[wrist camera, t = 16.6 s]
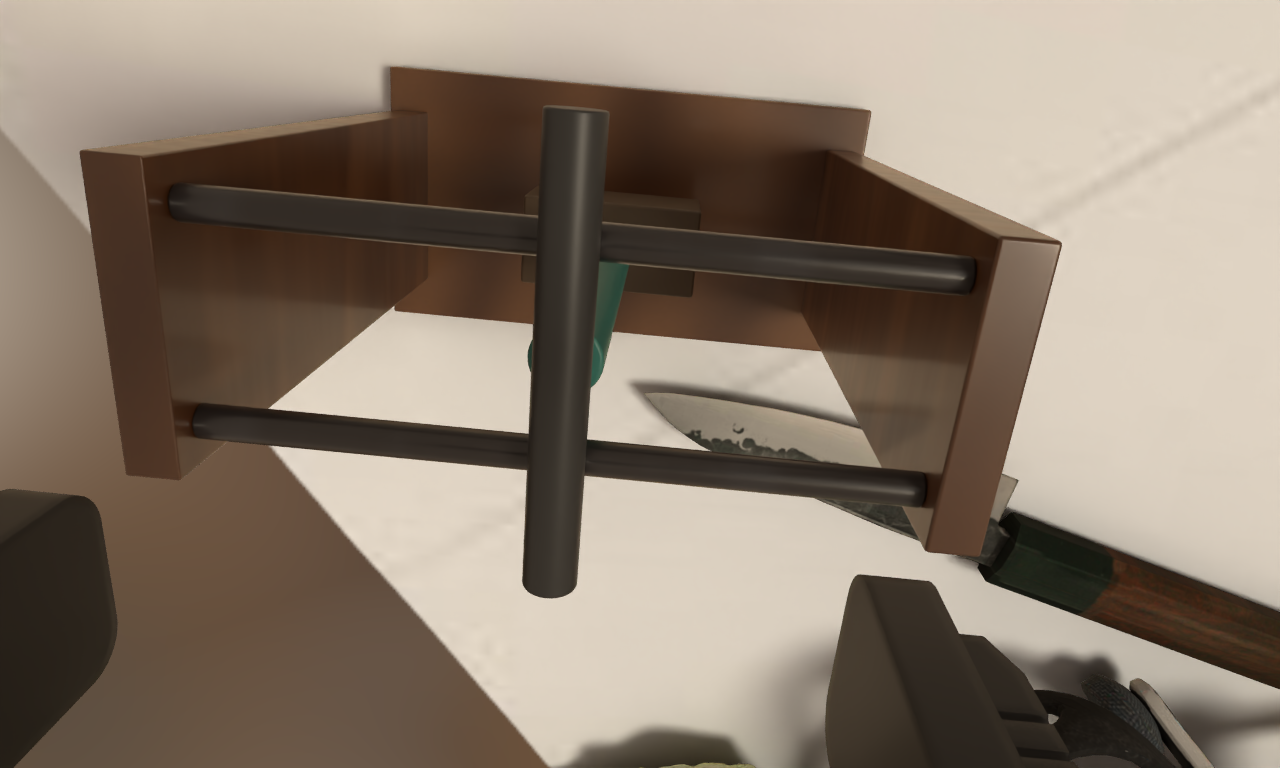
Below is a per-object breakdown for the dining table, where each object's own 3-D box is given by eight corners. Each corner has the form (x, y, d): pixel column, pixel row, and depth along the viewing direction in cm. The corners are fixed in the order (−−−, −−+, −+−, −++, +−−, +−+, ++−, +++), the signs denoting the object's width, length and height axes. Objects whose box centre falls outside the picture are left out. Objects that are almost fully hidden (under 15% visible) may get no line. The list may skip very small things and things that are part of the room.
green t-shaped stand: (530, 351, 33) (406, 585, 18) (541, 83, 30) (399, 93, 14) (681, 365, 33) (685, 612, 18) (710, 99, 30) (745, 125, 14)
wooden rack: (400, 305, 37) (121, 539, 19) (397, 66, 34) (47, 56, 15) (825, 345, 37) (978, 623, 18) (866, 109, 34) (1105, 153, 15)
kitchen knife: (1387, 627, 38) (1318, 708, 40) (1351, 599, 40) (1286, 677, 42) (662, 352, 35) (621, 453, 37) (663, 337, 37) (624, 433, 39)
